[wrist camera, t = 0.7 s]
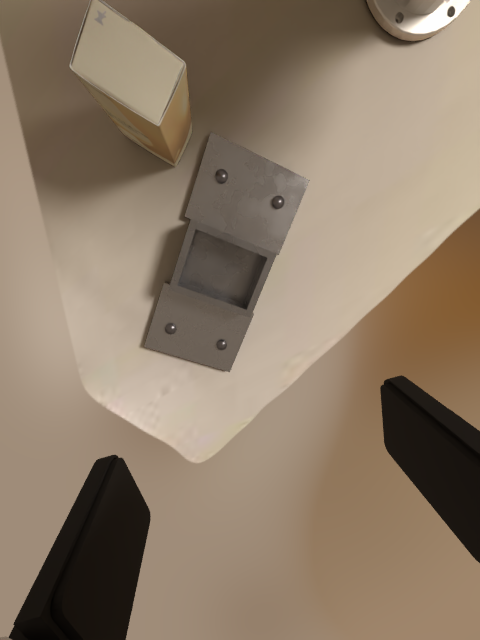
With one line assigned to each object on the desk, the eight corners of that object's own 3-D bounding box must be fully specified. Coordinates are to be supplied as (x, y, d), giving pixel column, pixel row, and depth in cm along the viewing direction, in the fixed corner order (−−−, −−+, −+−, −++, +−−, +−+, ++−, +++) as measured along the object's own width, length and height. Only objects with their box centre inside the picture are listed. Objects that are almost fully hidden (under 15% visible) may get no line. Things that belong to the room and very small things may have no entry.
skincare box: (122, 135, 28) (60, 64, 16) (139, 92, 27) (85, -15, 15) (179, 170, 29) (159, 128, 18) (196, 131, 28) (187, 60, 17)
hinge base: (210, 134, 29) (211, 121, 25) (307, 181, 31) (318, 175, 28) (145, 344, 35) (138, 355, 32) (229, 369, 38) (231, 382, 34)
